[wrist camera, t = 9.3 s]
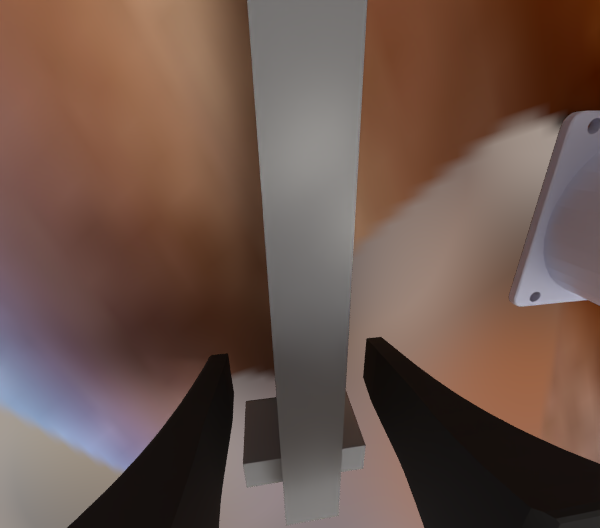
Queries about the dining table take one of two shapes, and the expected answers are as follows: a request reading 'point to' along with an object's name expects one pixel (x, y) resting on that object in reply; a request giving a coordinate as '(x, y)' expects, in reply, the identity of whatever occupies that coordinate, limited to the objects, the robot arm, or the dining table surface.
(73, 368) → the dining table surface
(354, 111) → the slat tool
